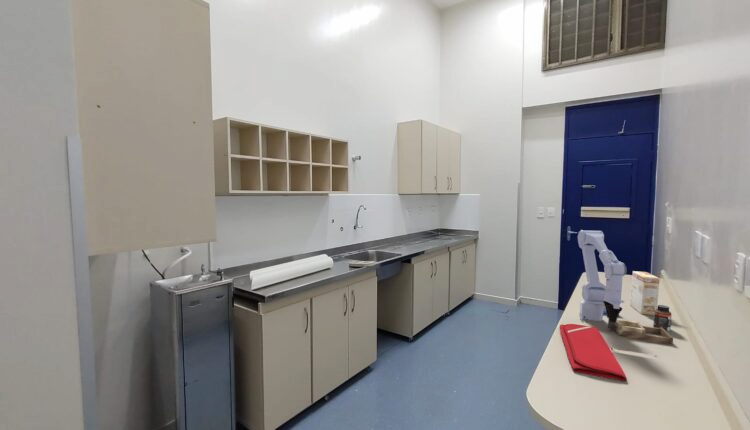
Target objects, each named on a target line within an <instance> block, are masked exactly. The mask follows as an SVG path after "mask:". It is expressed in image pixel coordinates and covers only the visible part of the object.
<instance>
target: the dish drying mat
mask: <svg viewBox="0 0 750 430" xmlns="http://www.w3.org/2000/svg"><path fill="white" fill-rule="evenodd" d="M559 333H560V336H561V339H562V343H563V345H564V349H565V352H566V355H567V358H568V362H569V364H570V366H571V368H572V371H573V373H577V374H578V373H579V374H584V375H589V376H595V377H601V378H604V379H605V378H606V379H611V380H614V381H615V380H616V381H621V382H626V381H627V380H628V378H627V375H626V373H625V372H624V370H623V368H622V366H621V364H620V363H619V362H618V360H617V358H616V356H615V355H614V353H613V352H612V350H611V348H610V347H609V345H608V344H607V341H606V340H605V339H604V337H603V335H602V333H601V332H600V330H599V329H598V328H597V327H596V326H589V325H583V324H575V323H567V324H562V323H561V324H560V325H559Z"/></svg>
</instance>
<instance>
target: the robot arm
mask: <svg viewBox="0 0 750 430" xmlns="http://www.w3.org/2000/svg"><path fill="white" fill-rule="evenodd" d="M577 243H578V247H579V248H580V249H581V250H582V256H583V257H582V258H583V264H584V269H585V273H586V281H587V282H586V283H585V284H583V285H582V287H581V289H582V291H581V296H582V299H583V300H580V305H579V315H578V316H579V318H580V321H581V322H584V320H590V321H594V322H602V321H604V320H603V318H604V314H603V307H604V305H605V308H606V313H607V315H606V317H607V319H609V320H610V322H616V320H617V319H618V317H619V316H620V313H621V312H622V311H623V308H622V307H621V304H623V303H625V300H622V289H623V277H624V276H625V275H626V274H627V266H626V265H625V263H624V262H621V260H620V261H619V260H618V258H617V256H616V255H615V254H614V252H613V251H612V250H611V249H608V247H607V245H606V243H605V234H604V232H603V231H602V230H583V229H580V231H578V234H577ZM595 250H597V252H598V253H599V255H598V257H599V259H600V261H601V262H602V265H603V270H604V278H605V279H606V281H605V284H604V283H602V282H601V281H600V277H599V270H598V265H597V259H596V254H595ZM618 315H619V316H618Z"/></svg>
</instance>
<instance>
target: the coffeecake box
mask: <svg viewBox="0 0 750 430" xmlns="http://www.w3.org/2000/svg"><path fill="white" fill-rule="evenodd" d="M631 275H632V276H631V286H630V297H629V298H630V299H629V306H630V307H632V308H633V309H635V311H637V312H638V313H639V314H641V315H649V316H654V311H655V310H656V309H658V308H657V307H658V303H659V302H658V300H659V292H660V291H659V290H660V280H661V279H660V278H659V277H658V276H656V275H653V274H652V273H650V272H647V271H637V270H636V271H635V270H632V274H631Z"/></svg>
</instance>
